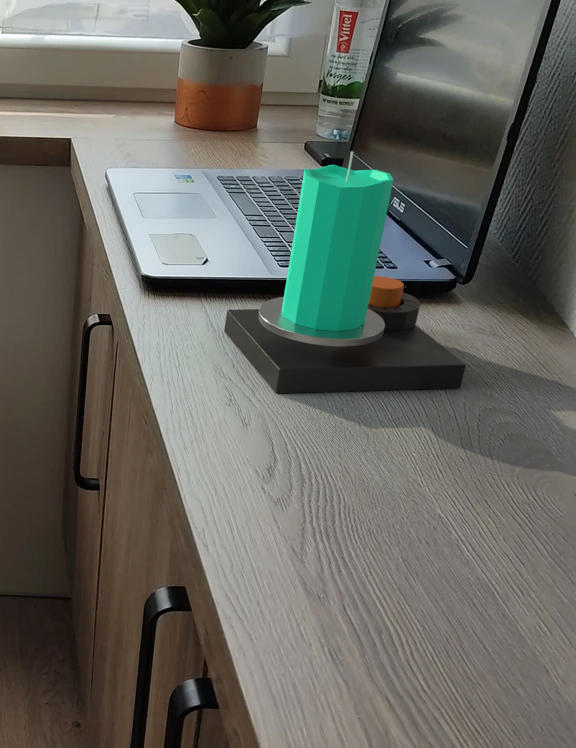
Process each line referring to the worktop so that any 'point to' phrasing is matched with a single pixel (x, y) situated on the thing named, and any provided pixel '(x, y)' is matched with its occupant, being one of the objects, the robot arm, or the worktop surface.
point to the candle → (336, 246)
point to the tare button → (386, 292)
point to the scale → (349, 356)
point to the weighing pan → (282, 326)
